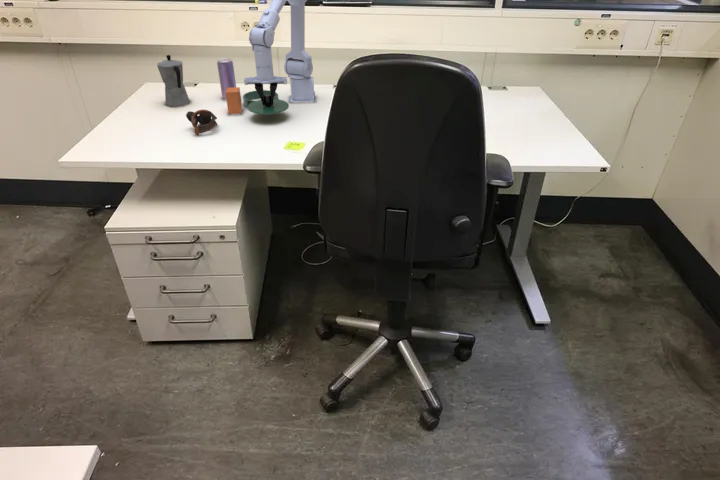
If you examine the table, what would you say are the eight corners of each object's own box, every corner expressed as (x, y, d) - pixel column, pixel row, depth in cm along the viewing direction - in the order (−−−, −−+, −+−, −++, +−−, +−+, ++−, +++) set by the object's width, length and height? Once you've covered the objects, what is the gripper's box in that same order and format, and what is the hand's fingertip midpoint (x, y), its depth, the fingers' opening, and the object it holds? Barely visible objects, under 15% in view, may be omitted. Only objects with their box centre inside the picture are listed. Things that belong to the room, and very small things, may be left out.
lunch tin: (279, 98, 199) (278, 89, 197) (278, 110, 188) (277, 101, 186) (245, 99, 198) (244, 90, 196) (242, 111, 187) (241, 101, 185)
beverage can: (235, 101, 196) (230, 61, 188) (220, 100, 197) (214, 61, 188) (239, 96, 201) (234, 57, 193) (224, 95, 201) (218, 57, 193)
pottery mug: (225, 127, 175) (221, 112, 168) (211, 147, 171) (207, 132, 164) (194, 115, 176) (189, 99, 169) (180, 134, 172) (174, 119, 165)
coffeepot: (160, 100, 196) (149, 53, 186) (183, 96, 201) (174, 49, 191) (173, 111, 186) (163, 62, 176) (197, 107, 191) (189, 58, 180)
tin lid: (289, 101, 185) (288, 88, 182) (288, 115, 173) (287, 101, 170) (249, 102, 184) (248, 89, 181) (246, 116, 172) (244, 102, 169)
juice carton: (242, 109, 189) (239, 87, 184) (240, 114, 184) (237, 92, 179) (230, 109, 188) (227, 87, 183) (228, 115, 184) (225, 92, 179)
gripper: (241, 69, 166) (246, 108, 174) (285, 68, 167) (288, 107, 175) (243, 63, 172) (248, 101, 179) (285, 62, 173) (288, 100, 181)
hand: (268, 104), depth 177 cm, fingers closed on tin lid, 2 cm apart
